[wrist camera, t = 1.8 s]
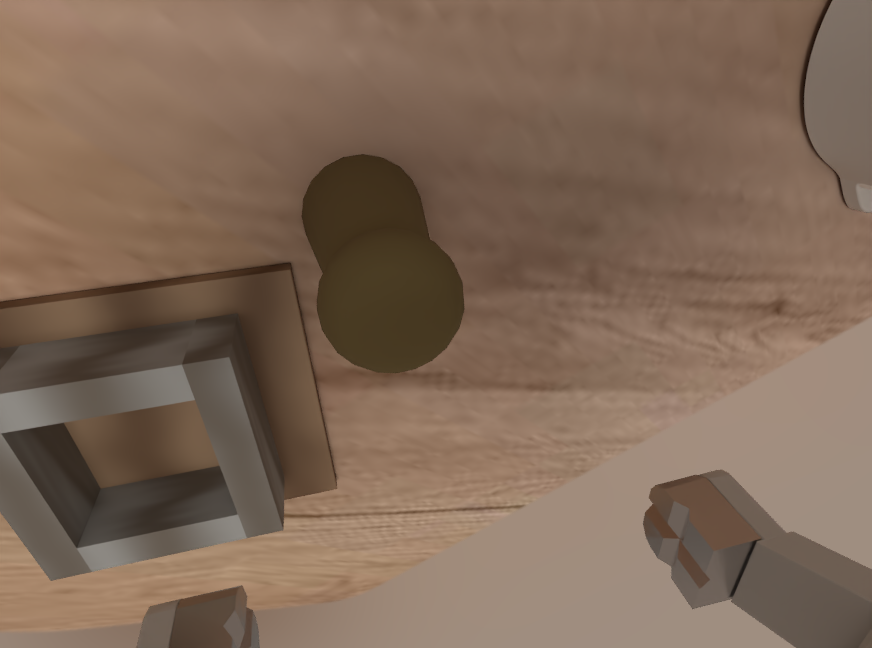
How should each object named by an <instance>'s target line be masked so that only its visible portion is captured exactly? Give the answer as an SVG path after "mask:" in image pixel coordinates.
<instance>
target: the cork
mask: <svg viewBox="0 0 872 648" xmlns="http://www.w3.org/2000/svg"><path fill="white" fill-rule="evenodd" d="M302 220H303V224H304V228H305V232H306V236H307V238H308V240H309V243H310V245H311V247H312V250H313V252H314V254H315V256H316V259H317V261H318V263H319V266H320V268H321V270H322V272H323V275H322V277H321V279H320V281H319V288H318V296H317V311H318V315H319V319H320V323H321V327H322V330H323V332H324V334H325V335H326V337H327V338H328V340H329V341H330V343H331V344H332V345H333V347H334V348H335V350H336V351H337V353H339V354H340V355H341V356H343V357H344V358H345V359H347V360H348V361H350V362H351V363H352V364H354V365H357V366H360V367H363V368H366V369H369V370H372V371H375V372H381V373H399V372H404V371H408V370H413V369H416V368H418V367H420V366H422V365H424V364H426V363H428V362H430V361H432V360H433V359H434V358H435V357H437V356H438V355H439V354H440V353H441V352H442V351H443V350H445V349H446V348H447V346H448V345H449V343H450V342H451V340H452V338H453V337H454V335H455V334H456V332H457V331H458V329H459V327H460V323H461V320H462V316H463V312H464V298H463V285H462V280H461V278H460V276H459V274H458V271H457V269H456V267H455V265H454V263H453V262H452V260H451V259H450V257H449V256H448V255H447V254H446V253H445V252H444V251H443V250H442V249H441V248H440V247H439V246H438V245H437V244H436V243H435V242H433V241H431V240H430V239H429V234H428V230H427V225H426V221H425V216H424V212H423V207H422V203H421V198H420V196H419V193H418V191H417V189H416V187H415V185H414V183H413V181H412V179H411V178H410V177H409V176H408V175H407V174H406V173H405V172H404V171H403V170H402V169H401V168H400V167H399V166H397V165H395V164H393V163H391V162H389V161H388V160H386V159H384V158H381V157H375V156H369V155H363V154H362V155H356V156H349V157H343V158H341V159H339V160H337V161H335V162H333V163H331V164H329V165H327V166H325V167H324V168H323V169H322V170H321V172H320V173H319V174H318V175H317V176H316V177H315V178H314V179H313V180H312V181H311V183H310V185H309V188H308V190H307V192H306V194H305V196H304V199H303V209H302Z"/></svg>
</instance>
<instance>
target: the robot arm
mask: <svg viewBox="0 0 872 648" xmlns="http://www.w3.org/2000/svg"><path fill="white" fill-rule="evenodd" d="M804 113H805V122H806V127H807V131H808V134H809V137H810V140H811V142H812V145H813V146H814V148H815V150H816V152H817V153H818V154H819V156H820V157H821V158H822V159H823V160H824V161H825V162H826V163H827V164H828V165H829V166H830V167H831V168H833V169H834V170H835V172H836V173H837V174H838V176H839V177H840V181H841V186H842V191H843V196H844V199H845V202H846V204H847V206H848V207H849V208H850V209H853V210H857V211H862V212H866V213H871V212H872V0H832V2H831V4H830V6H829V8H828V11H827V13H826V15H825V17H824V19H823V22H822V24H821V27H820V29H819V32H818V35H817V37H816V40H815V43H814V46H813V50H812V53H811V57H810V61H809V65H808V70H807V76H806V82H805V92H804ZM649 499H650V500H651V502H652V503H653V504H652V506H651V507H650V508H649V509H648V510H647V511H646V512H645V516H644V521H643V525H644V530H645V535H646V538H647V540H648V543H649V545H650V547H651V548H652V550H653V551H654V553H655V555H656V556H657V558H658V559H660V560H662V561H663V562H665V563H667V564H668V565H670V566H671V568H672V569H671V578H672V580H673V581H674V583H675V584H676V586H677V587H678V589H679V590H680V591H681V593H682V594H683V596H684V597H685V599H686V600H687V602H688V603H689V605H690V606H691V607H692V609H694V608H698V607H702V606H706V605H710V604H714V603H718V602H722V601H726V600H730V599H732V601H731V602H732V603H734V604H735V605H737V606H738V607H740V608H741V609H742V610H744V611H745V612H747V613H748V614H749V615H751V616H752V617H754V618H755V619H756V620H758V621H759V622H761V623H762V624H763V625H765V626H766V627H768V628H769V629H770V630H772V631H774V632H775V633H776V634H777V635H779V636H780V637H782V638H783V639H785V640H786V641H787V642H789V643H790V644H792V645H793V646H794V647H796V648H872V569H870V568H868V567H866V566H863V565H861V564H859V563H857V562H855V561H853V560H851V559H849V558H847V557H845V556H843V555H840V554H839V553H837V552H834V551H832V550H830V549H828V548H826V547H824V546H822V545H820V544H818V543H816V542H814V541H811V540H809V539H808V538H806V537H803V536H801V535H799V534H797V533H795V532H789V533H786V532H785V531H784V530H783V529H782V528H781V527H780V526H779V525H778V524H777V523H776V521H774V519H773V518H771V516H770V515H769V514H768V513H767V512H766V511H765V510H764V509H763V508H762V507H761V506H760V505H759V504H758V503H757V502H756V501H755V500H754V499H753V498H752V497H751V496H750V495H749V494H748V493H747V492H746V490H745V489H744V488H743V487H742V486H741V485H740V484H739V483H738V482H737V481H736V480H735V479H734V478H733V477H732V476H731V475H730V474H729V473H727V472H725V471H724V470H715V471H711V472H708V473H704V474H700V475H693V476H689V477H685V478H681V479H678V480H674V481H670V482H666V483H662V484H658V485H655V486H654V487H653V488H652V489H651V491H650V495H649ZM246 606H247V595H246V592H245V590H244V588H243V586H237V587H233V588H229V589H224V590H220V591H215V592H211V593H207V594H202V595H198V596H193V597H189V598H185V599H179V600H175V601H170V602H166V603H162V604H158V605H154V606H150V607H149V609H148V611H147V613H146V614H145V616H144V618H143V622H142V626H141V630H140V635H139V639H138V643H137V647H136V648H260V646H259V631H258V626H257V621H256V617H255V615H254V612H253V610H251V609H249V608H246Z"/></svg>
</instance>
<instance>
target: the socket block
mask: <svg viewBox="0 0 872 648" xmlns="http://www.w3.org/2000/svg"><path fill="white" fill-rule="evenodd" d="M334 489H337V482H336V476H335V471H334V466H333V462H332V457H331V452H330V448H329V443H328V438H327V433H326V429H325V424H324V419H323V415H322V410H321V405H320V401H319V396H318V391H317V386H316V382H315V377H314V372H313V368H312V363H311V358H310V353H309V349H308V344H307V339H306V335H305V330H304V325H303V321H302V316H301V311H300V306H299V302H298V297H297V292H296V288H295V283H294V278H293V274H292V269H291V264H290V263H287V264H280V265H272V266H265V267H257V268H250V269H242V270H235V271H228V272H220V273H213V274H205V275H198V276H190V277H183V278H176V279H168V280H161V281H153V282H146V283H138V284H131V285H124V286H116V287H109V288H101V289H94V290H86V291H79V292H72V293H64V294H57V295H49V296H42V297H34V298H27V299H20V300H12V301H5V302H0V512H1V514H2V515H3V516H4V518H5V519H6V520H7V522H8V523H9V525H10V526H11V527H12V529H13V530H14V531H15V533H16V534H17V535H18V537H19V538H20V539H21V541H22V542H23V544H24V545H25V546H26V548H27V549H28V550H29V552H30V553H31V554H32V556H33V557H34V558H35V560H36V561H37V563H38V564H39V565H40V567H41V568H42V569H43V571H44V572H45V573H46V575H47V576H48V577H49V579H50V580H51V581H52V580H56V579H61V578H66V577H70V576H75V575H79V574H84V573H89V572H93V571H98V570H102V569H107V568H112V567H116V566H121V565H125V564H130V563H134V562H139V561H144V560H148V559H153V558H157V557H162V556H167V555H171V554H176V553H180V552H185V551H190V550H194V549H199V548H203V547H208V546H213V545H217V544H222V543H226V542H231V541H236V540H240V539H245V538H249V537H254V536H258V535H263V534H268V533H272V532H277V531H281V530H283V524H284V500H286V499H291V498H296V497H300V496H305V495H310V494H315V493H320V492H324V491H329V490H334Z"/></svg>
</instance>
